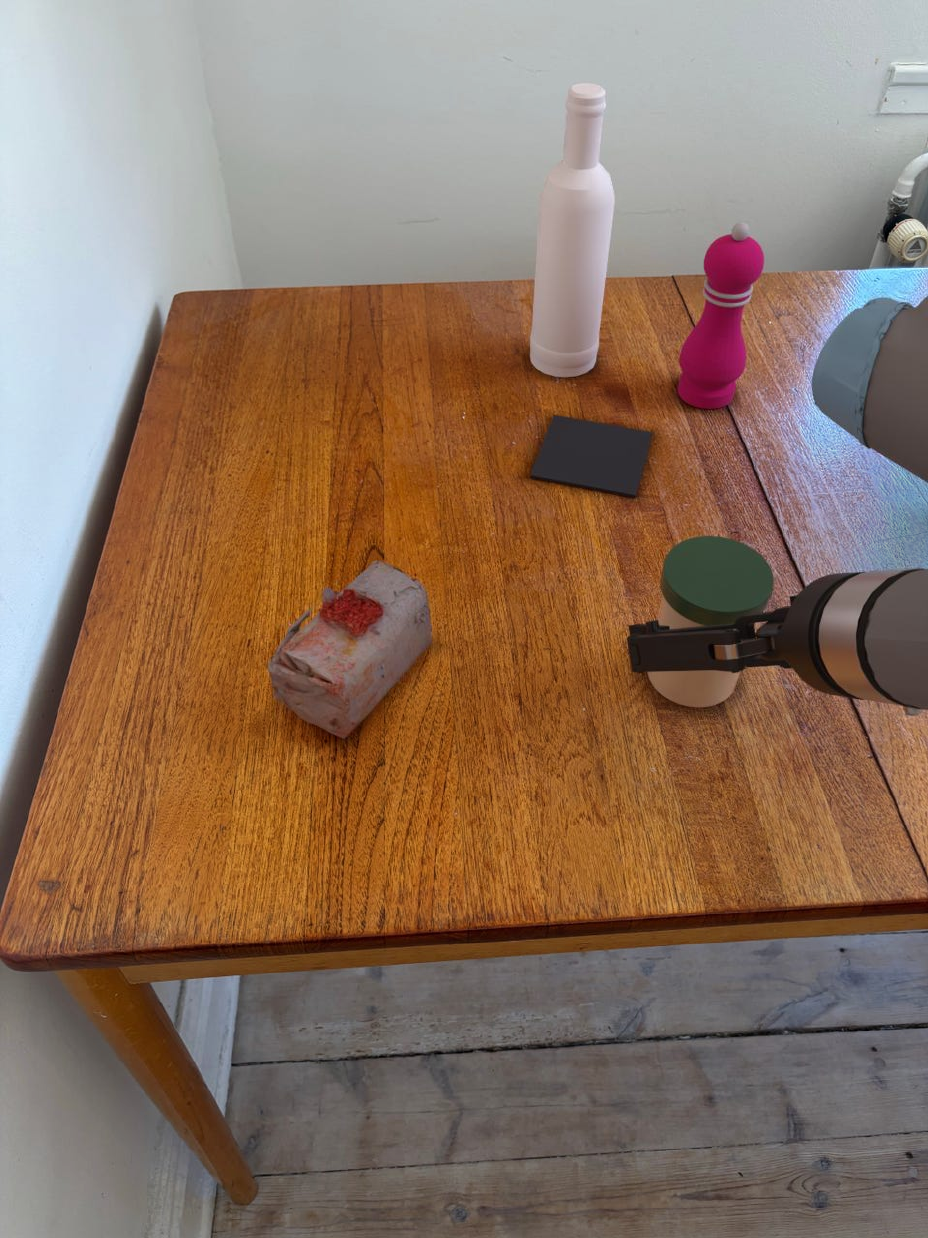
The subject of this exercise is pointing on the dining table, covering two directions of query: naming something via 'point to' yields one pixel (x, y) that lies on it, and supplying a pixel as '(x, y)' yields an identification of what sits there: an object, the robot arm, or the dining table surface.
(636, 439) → the mat
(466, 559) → the dining table surface
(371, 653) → the food item
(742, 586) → the jar lid
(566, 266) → the bottle
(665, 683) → the jar
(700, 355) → the pepper mill
